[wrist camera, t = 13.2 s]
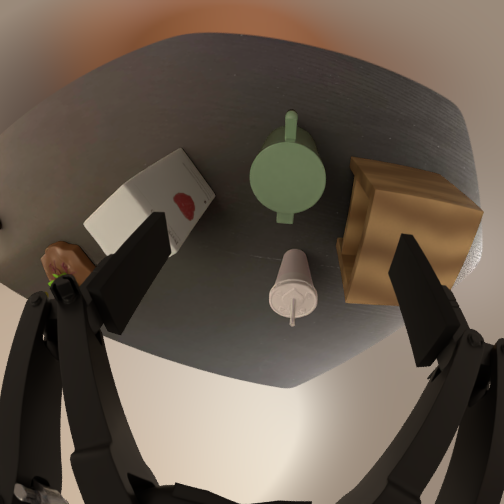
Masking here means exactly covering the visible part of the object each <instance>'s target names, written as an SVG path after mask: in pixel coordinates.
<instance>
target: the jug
mask: <svg viewBox="0 0 504 504" xmlns="http://www.w3.org/2000/svg"><path fill="white" fill-rule="evenodd" d="M285 121H286V124H285V126H281V127H279V128H277V129H275V130H274V131H272V132H271V133H270V134H269V136H268V137H267V139H266V141H265V142H264V144H263V146H262V147H261V149H260V151H259V153H258V154H257V156H256V158H255V160H254V161H253V163H252V166H251V170H250V184H251V188H252V191H253V192H254V194H255V196H256V197H257V199H258V200H259V201H260V202H261V203H262V204H263V205H265V206H266V207H267V208H269V209H271V210H273V211H276V212H277V221H276V222H277V223H287V224H293V217H294V213H298V212H302V211H304V210H307V209H308V208H310V207H312V206H313V205H314V204H315V203H316V202H317V201H318V200H319V199H320V197H321V196H322V194H323V192H324V189H325V185H326V173H325V169H324V166H323V163H322V160H321V157H320V155H319V152H318V149H317V146H316V144H315V141H314V139H313V138H312V136H311V135H310V134H309V133H308V132H307V131H306V130H304V129H302V128H300V127H298V126H297V121H298V115H297V112H296V111H295V110H294V109H290V110H288V111H287V113H286V116H285Z"/></svg>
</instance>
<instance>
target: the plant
mask: <svg viewBox="0 0 504 504" xmlns="http://www.w3.org/2000/svg"><path fill="white" fill-rule="evenodd" d="M41 261H42V264H43V267H44V269H45V272H46V274H47V276H48V278H49V280H50V281H51V282H49V283H48V285H49V286H51V284H52V283H53V281H54V280H55V279H57V278H58V277H60V276H62V275H66V274H72V275H73V276H74V277H75V279H76V281H77V283H78V286H79V287H80V285H81V284H82V283H83V282H84V281H85V279H86V278H87V277H88V276H89V275H90V273H91V272H93V270H94V269H95V268H96V267H95V265H94V264H93V263H92V262H91V261H90V260H89V258H88V257H87V256H86V255H85V253H84V252H83V251H82V249H81V248H80V247H79V246H78V245H73V244H68V243H66V242H64V241H58V242H56V243H53V244H51V245H50V246H49V247H47V248H46V250H45V255H44V256H43V257H42V258H41ZM45 293H46V295H47V296H48V293H47V292H45Z"/></svg>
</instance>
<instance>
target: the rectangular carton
mask: <svg viewBox="0 0 504 504" xmlns="http://www.w3.org/2000/svg"><path fill="white" fill-rule="evenodd" d="M215 196H216V195H215V194H214V192H213V191H212V189H211V188H210V187H209V185H208V184H207V182H206V181H205V180H204V178H203V177H202V175H201V174H200V173H199V171H198V170H197V169H196V167H195V166H194V164H193V163H192V162H191V160H190V159H189V157H188V156H187V155H186V153H185V152H184V151H183V149H182V148H179V149H177V150H176V151H174V152H172V153H171V154H169V155H167V156H166V157H164V158H162V159H161V160H159V161H158V162H156V163H154V164H153V165H151V166H149V167H148V168H146V169H145V170H143V171H142V172H140V173H138V174H137V175H135V176H134V177H132V178H131V179H130V180H128V181H127V182H125V183H124V184H123V185H122V186H121V187H120V188H119V189H118V190H117V191H116V192H115V193H114V194H112V195H111V196H110V197H109V198H108V199H107V200H106V201H105V202H104V203H103V204H102V205H101V206H100V207H99V208H98V209H97V210H96V211H95V212H94V213H93V214H92V215H91V216H90V217H89V218H88V219H87V220H86V221H85V222H84V223H83V225H84V226H85V228H86V229H87V230H88V231H89V233H90V234H91V235H92V236H93V238H94V239H95V240H96V241H97V243H98V244H99V245H100V247H101V248H102V250H103V251H104V252H105V254H106V255H107V256H108V255H110V254H114V253H115V252H116V251H117V250H118V249H119V248H120V246H121V245H122V244H123V243H124V242H125V241H126V240H127V239H128V238H129V237H130V235H131V234H132V233H133V232H134V231H135V230H136V229H137V228H138V227H139V226H140V225H141V224H142V223H143V222H144V221H145V220H146V218H147V217H148V216H149V215H150V214H151V213H152V212H165V216H166V222H167V229H168V235H169V240H170V246H171V252H172V253H171V254H170V256H172V255H173V254H175V253H177V252H178V250H179V249H180V247H181V246H182V244H183V243H184V241H185V240H186V238H187V236H188V235H189V234H190V232H191V230H192V229H193V227H194V226H195V225H196V223H197V222H198V220H199V219H200V217H201V216H202V215H203V213H204V212H205V210H206V209H207V207H208V206H209V205H210V203H211V202H212V200H213V199H214V197H215ZM170 256H169V257H170Z"/></svg>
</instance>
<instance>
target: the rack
mask: <svg viewBox="0 0 504 504" xmlns="http://www.w3.org/2000/svg"><path fill="white" fill-rule="evenodd" d="M350 169H351V171H352V172H353V174H354V175H355V177H354V183H353V189H352V195H351V201H350V207H349V212H348V217H347V222H346V227H345V232H344V237H343V238H338V239H337V243H336V249H337V254H338V259H339V265H340V270H341V276H342V282H343V288H344V294H345V301H346V303H357V304H374V305H393V306H399V304H398V301H397V298H396V295H395V292H394V289H393V286H392V283H391V280H390V278H389V275H388V271H389V268H390V266H391V263H392V260H393V257H394V254H395V251H396V248H397V245H398V242H399V239H400V235H401V233H403V234H411V235H413V236H414V238H415V239H416V241H417V242H418V244H419V246H420V247H421V249H422V251H423V252H424V254H425V256H426V257H427V259H428V261H429V263H430V264H431V266H432V268H433V270H434V272H435V273H436V275H437V277H438V279H439V281H440V283H441V285H446V286H447V287H448V288H449V289H450V290H451V288H452V286H453V284H454V282H455V280H456V278H457V276H458V274H459V272H460V270H461V268H462V266H463V263H464V261H465V259H466V257H467V254H468V252H469V250H470V247H471V245H472V242H473V240H474V237H475V235H476V232H477V230H478V227H479V224H480V221H481V219H482V215H483V213H484V212H483V211H482V210H481V209H480V208H479V207H478V206H477V205H476V204H475V203H474V202H473V201H472V200H470V199H469V198H468V197H467V196H466V195H465V194H463V193H462V192H461V191H460V190H459V189H457V188H456V187H455V186H454V185H453V184H451V183H450V182H449V181H448V180H446V179H445V178H444V177H442V176H441V175H440V174H437V173H433V172H429V171H425V170H421V169H416V168H412V167H407V166H403V165H398V164H393V163H387V162H382V161H377V160H371V159H365V158H358V157H352V156H351V161H350Z"/></svg>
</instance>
